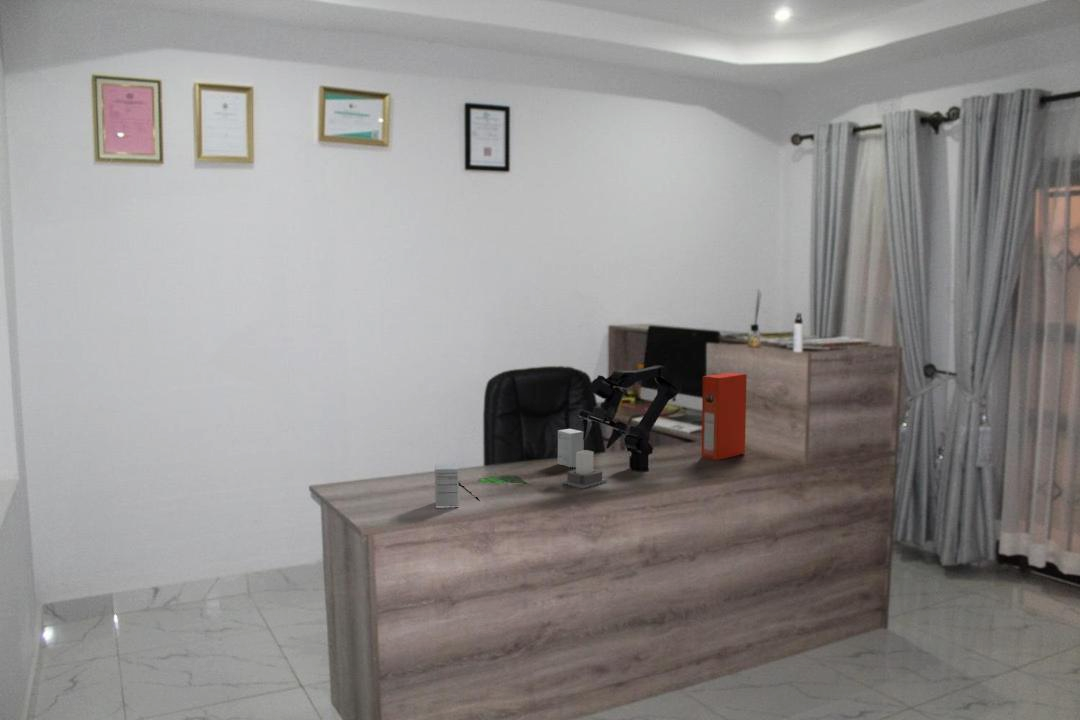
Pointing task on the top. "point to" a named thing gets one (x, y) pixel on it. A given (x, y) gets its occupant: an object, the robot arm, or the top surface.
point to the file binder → (723, 415)
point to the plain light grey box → (584, 462)
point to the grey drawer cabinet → (446, 485)
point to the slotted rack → (584, 479)
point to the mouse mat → (502, 480)
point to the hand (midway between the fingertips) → (595, 444)
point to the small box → (569, 446)
